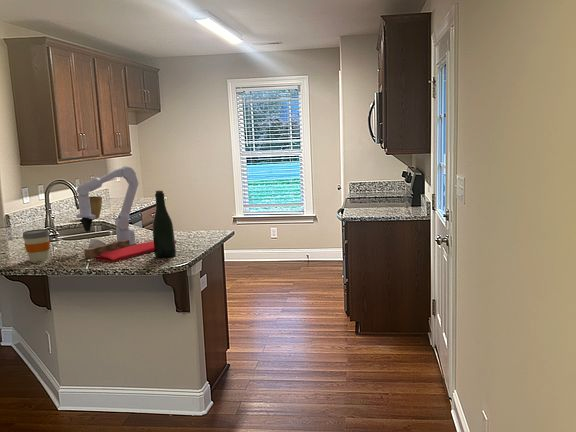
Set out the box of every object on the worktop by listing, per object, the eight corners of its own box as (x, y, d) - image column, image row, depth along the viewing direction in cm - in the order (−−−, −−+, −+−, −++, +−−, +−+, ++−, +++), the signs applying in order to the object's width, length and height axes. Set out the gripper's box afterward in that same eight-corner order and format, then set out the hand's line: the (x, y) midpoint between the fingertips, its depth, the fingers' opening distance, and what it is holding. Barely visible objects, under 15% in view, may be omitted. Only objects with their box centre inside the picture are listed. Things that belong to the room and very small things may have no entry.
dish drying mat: (94, 260, 281) (93, 253, 281) (159, 244, 313) (158, 237, 312) (112, 263, 272) (111, 256, 271) (177, 246, 303) (176, 239, 303)
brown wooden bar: (126, 247, 306) (125, 239, 305) (130, 248, 304) (129, 239, 303) (85, 258, 285) (84, 249, 284) (88, 258, 283) (87, 250, 283)
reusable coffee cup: (22, 260, 289) (18, 232, 286) (46, 255, 297) (43, 228, 295) (31, 263, 280) (27, 234, 277) (56, 258, 288) (52, 230, 286)
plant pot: (79, 220, 420) (77, 199, 418) (92, 216, 434) (89, 196, 432) (96, 220, 416) (93, 198, 413) (108, 216, 430) (106, 196, 427)
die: (105, 251, 304) (92, 237, 302) (111, 244, 298) (99, 231, 297) (94, 259, 298) (82, 246, 296) (101, 253, 292) (88, 239, 291)
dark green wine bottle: (180, 255, 279) (174, 189, 273) (162, 259, 271) (155, 192, 266) (168, 252, 286) (162, 188, 281) (150, 256, 279) (144, 191, 274)
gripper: (70, 207, 303) (73, 232, 305) (86, 208, 294) (89, 233, 297) (81, 205, 308) (84, 229, 311) (97, 206, 300) (100, 231, 302)
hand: (87, 231), depth 304 cm, fingers closed
